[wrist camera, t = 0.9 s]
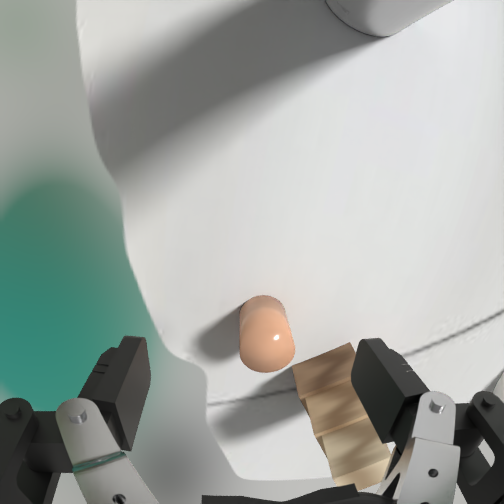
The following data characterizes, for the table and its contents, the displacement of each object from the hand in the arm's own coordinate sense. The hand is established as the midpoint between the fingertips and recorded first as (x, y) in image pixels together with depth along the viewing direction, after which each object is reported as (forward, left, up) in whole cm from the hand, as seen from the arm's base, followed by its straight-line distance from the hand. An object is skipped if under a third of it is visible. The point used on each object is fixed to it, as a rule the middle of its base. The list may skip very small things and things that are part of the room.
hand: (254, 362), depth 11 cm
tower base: (-2, +19, -18) cm, 26 cm away
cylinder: (+2, +8, -18) cm, 20 cm away
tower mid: (-2, +19, -13) cm, 23 cm away
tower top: (-2, +19, -8) cm, 21 cm away
